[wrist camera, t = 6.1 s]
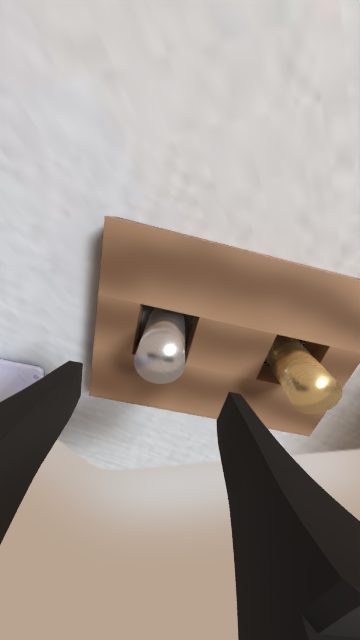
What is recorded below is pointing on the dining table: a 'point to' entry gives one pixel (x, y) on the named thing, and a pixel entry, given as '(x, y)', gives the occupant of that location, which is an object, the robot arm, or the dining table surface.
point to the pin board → (217, 322)
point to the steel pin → (162, 347)
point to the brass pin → (302, 376)
